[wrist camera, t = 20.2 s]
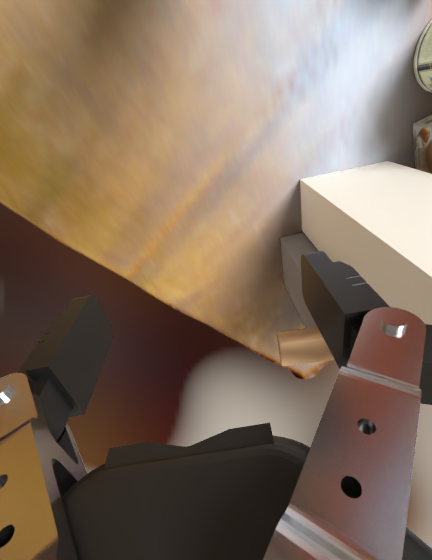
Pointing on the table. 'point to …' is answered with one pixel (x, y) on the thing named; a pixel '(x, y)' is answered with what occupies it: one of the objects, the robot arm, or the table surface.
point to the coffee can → (424, 59)
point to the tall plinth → (376, 228)
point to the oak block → (302, 346)
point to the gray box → (296, 272)
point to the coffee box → (423, 144)
